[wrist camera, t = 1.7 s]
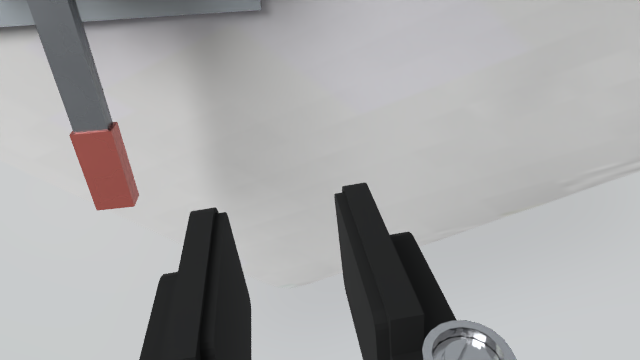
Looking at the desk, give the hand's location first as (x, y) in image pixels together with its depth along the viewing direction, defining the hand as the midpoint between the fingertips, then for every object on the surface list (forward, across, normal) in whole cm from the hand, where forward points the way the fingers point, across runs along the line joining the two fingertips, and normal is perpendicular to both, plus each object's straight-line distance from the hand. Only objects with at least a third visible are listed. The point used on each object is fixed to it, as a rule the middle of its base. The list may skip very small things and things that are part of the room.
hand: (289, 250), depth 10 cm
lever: (+17, +10, -1) cm, 20 cm away
